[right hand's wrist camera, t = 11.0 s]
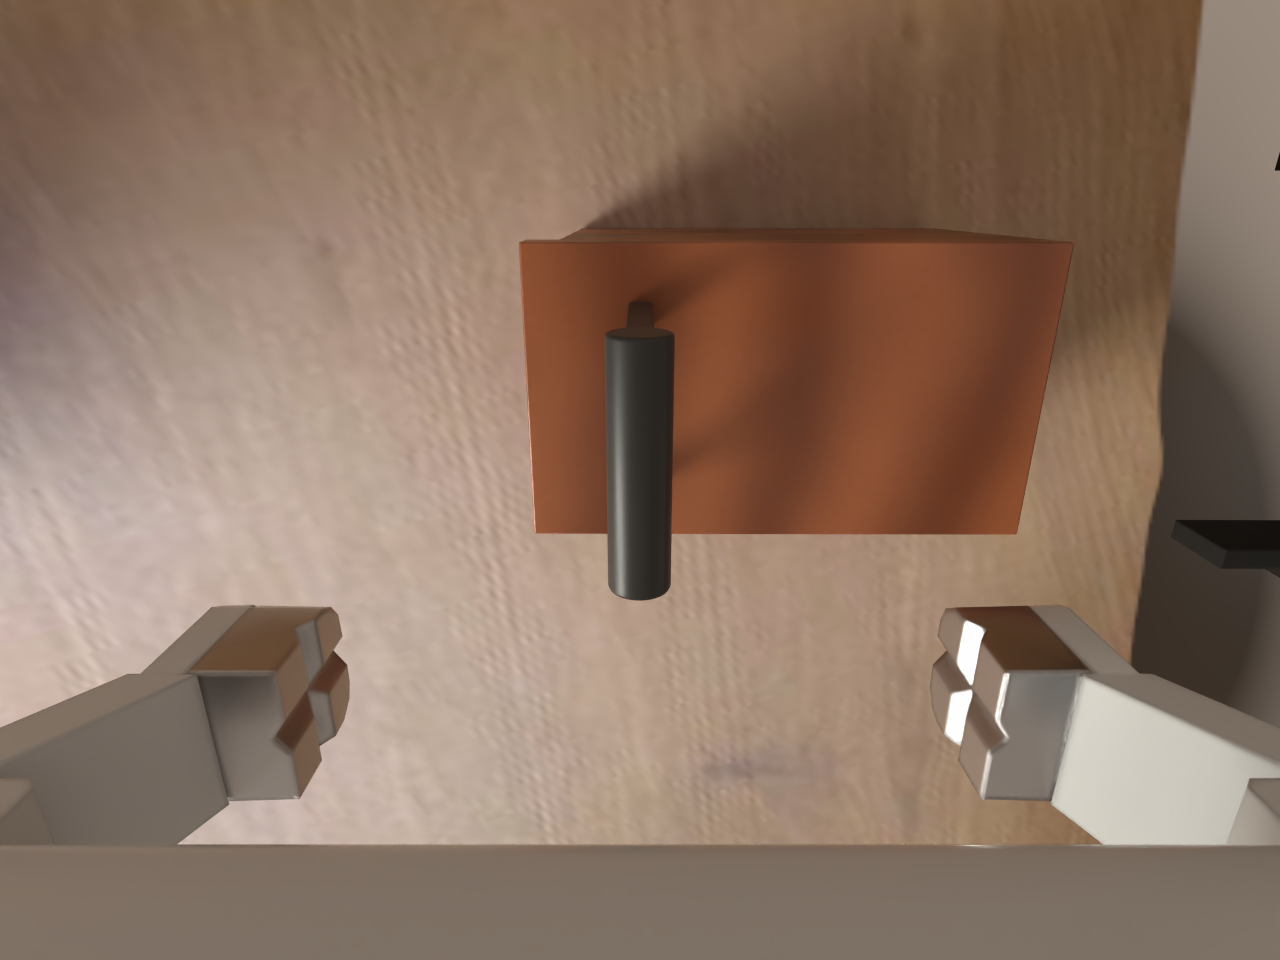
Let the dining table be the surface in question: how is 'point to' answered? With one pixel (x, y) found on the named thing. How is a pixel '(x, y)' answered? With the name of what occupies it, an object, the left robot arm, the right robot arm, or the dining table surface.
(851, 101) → the dining table surface
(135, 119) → the dining table surface
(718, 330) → the lid
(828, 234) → the chest
